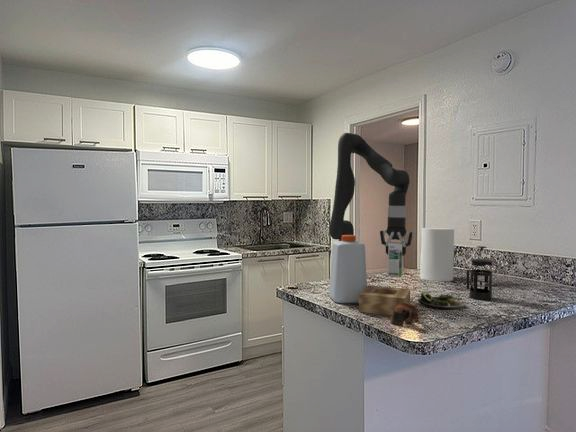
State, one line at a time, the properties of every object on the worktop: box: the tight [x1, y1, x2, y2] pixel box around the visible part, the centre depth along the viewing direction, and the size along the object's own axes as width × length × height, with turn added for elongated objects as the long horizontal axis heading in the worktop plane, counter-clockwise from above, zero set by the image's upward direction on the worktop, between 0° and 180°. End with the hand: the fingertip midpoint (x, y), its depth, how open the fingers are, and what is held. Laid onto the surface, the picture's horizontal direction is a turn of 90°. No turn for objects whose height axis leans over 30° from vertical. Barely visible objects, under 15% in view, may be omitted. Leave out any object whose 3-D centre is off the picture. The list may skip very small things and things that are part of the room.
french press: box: [466, 245, 494, 301], centre depth 179 cm, size 12×9×23 cm
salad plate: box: [416, 291, 466, 310], centre depth 169 cm, size 19×18×5 cm
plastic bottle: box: [328, 234, 368, 304], centre depth 175 cm, size 15×15×28 cm
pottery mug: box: [389, 302, 419, 327], centre depth 141 cm, size 12×10×8 cm
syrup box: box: [387, 241, 404, 278], centre depth 174 cm, size 6×6×14 cm
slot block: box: [358, 284, 411, 317], centre depth 160 cm, size 17×17×7 cm
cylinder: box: [419, 227, 455, 282], centre depth 223 cm, size 17×17×28 cm
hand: (395, 254), depth 174 cm, fingers closed on syrup box, 5 cm apart
